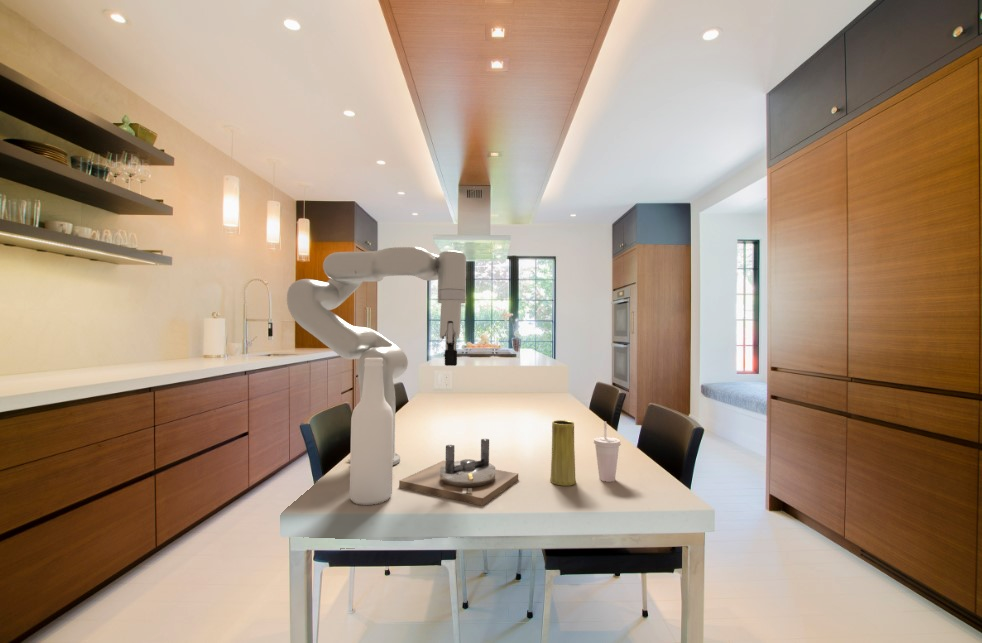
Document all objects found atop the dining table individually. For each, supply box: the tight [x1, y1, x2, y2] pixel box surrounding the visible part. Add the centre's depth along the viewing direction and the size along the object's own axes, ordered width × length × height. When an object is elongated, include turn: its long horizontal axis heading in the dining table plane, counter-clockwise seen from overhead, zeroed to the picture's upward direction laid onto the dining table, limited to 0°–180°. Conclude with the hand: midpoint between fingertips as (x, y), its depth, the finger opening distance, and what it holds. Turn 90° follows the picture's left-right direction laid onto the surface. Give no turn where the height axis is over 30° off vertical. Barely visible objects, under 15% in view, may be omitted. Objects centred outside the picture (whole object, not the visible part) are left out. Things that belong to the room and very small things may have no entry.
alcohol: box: [349, 358, 394, 506], centre depth 90 cm, size 9×9×30 cm
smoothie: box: [593, 421, 622, 483], centre depth 103 cm, size 6×6×14 cm
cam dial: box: [440, 438, 496, 487], centre depth 98 cm, size 13×14×8 cm
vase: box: [549, 419, 577, 487], centre depth 101 cm, size 6×6×14 cm
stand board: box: [398, 460, 519, 506], centre depth 99 cm, size 22×18×2 cm
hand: (450, 365), depth 113 cm, fingers closed
